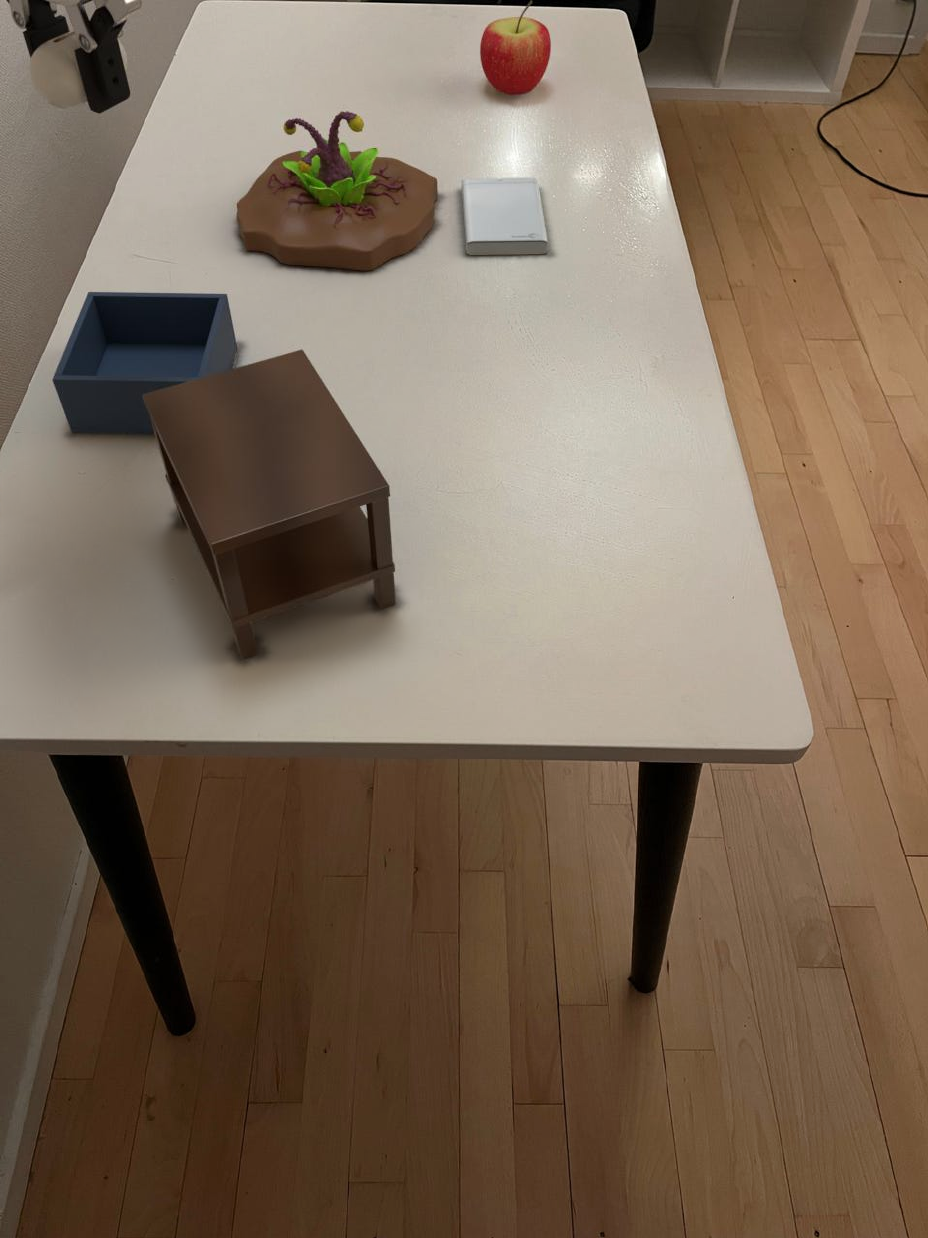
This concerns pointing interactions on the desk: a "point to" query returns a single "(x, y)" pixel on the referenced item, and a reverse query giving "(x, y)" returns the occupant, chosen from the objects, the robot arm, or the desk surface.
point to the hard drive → (503, 216)
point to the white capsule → (60, 71)
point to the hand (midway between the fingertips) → (85, 92)
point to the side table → (273, 489)
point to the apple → (515, 53)
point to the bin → (139, 355)
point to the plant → (336, 204)
